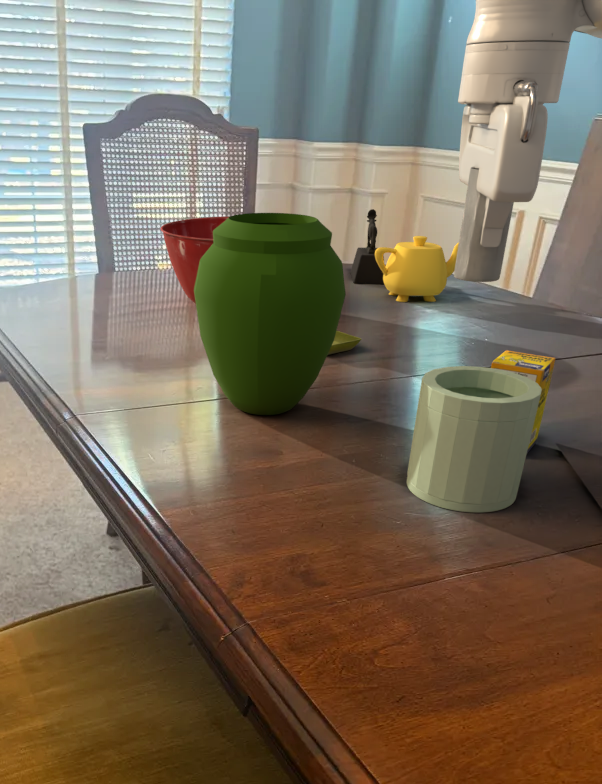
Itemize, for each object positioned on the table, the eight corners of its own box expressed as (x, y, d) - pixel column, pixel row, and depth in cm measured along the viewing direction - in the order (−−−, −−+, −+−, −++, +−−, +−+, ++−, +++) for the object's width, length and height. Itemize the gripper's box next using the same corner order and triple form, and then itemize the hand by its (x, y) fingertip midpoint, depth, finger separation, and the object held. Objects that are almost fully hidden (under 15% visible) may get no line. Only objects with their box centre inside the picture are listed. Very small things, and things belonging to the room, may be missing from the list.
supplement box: (536, 443, 96) (557, 356, 91) (524, 459, 92) (545, 369, 86) (488, 432, 99) (505, 348, 94) (474, 447, 95) (491, 360, 89)
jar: (503, 469, 89) (526, 368, 83) (527, 516, 79) (555, 405, 73) (401, 463, 90) (416, 363, 85) (412, 509, 81) (430, 399, 75)
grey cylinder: (501, 276, 80) (522, 166, 75) (496, 284, 77) (517, 169, 72) (457, 272, 82) (474, 165, 77) (450, 280, 78) (467, 168, 73)
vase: (362, 407, 107) (384, 219, 95) (270, 444, 95) (282, 235, 83) (257, 375, 119) (265, 205, 107) (164, 405, 107) (161, 217, 95)
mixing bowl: (249, 331, 142) (253, 242, 134) (133, 308, 157) (130, 227, 149) (324, 303, 161) (331, 224, 154) (214, 285, 176) (216, 212, 168)
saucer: (323, 359, 127) (324, 346, 126) (289, 346, 133) (290, 334, 132) (361, 350, 131) (363, 338, 130) (327, 339, 137) (328, 327, 136)
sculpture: (382, 273, 189) (390, 207, 182) (385, 284, 178) (394, 214, 170) (350, 272, 190) (356, 206, 183) (351, 283, 179) (358, 213, 171)
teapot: (471, 304, 161) (482, 241, 155) (377, 304, 161) (384, 241, 154) (450, 290, 173) (460, 231, 167) (362, 290, 172) (369, 231, 166)
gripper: (579, 79, 61) (541, 260, 68) (521, 83, 79) (496, 227, 86) (497, 80, 62) (467, 259, 69) (458, 84, 80) (437, 226, 87)
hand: (483, 241), depth 78 cm, fingers closed on grey cylinder, 4 cm apart
